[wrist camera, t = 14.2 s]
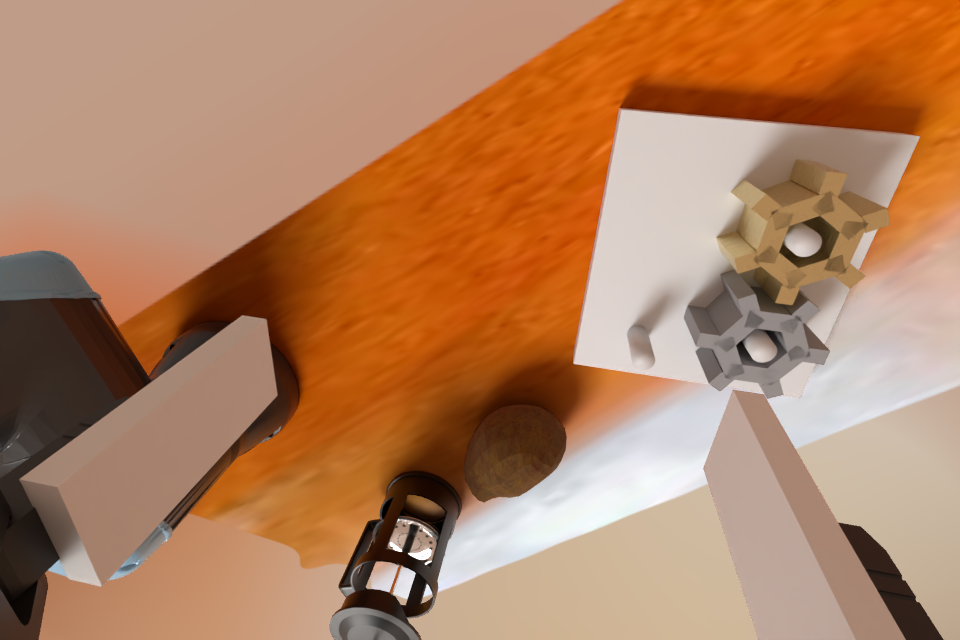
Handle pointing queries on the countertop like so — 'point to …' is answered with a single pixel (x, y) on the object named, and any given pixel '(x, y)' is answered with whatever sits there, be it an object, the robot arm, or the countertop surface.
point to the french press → (396, 562)
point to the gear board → (715, 249)
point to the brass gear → (822, 211)
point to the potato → (513, 451)
